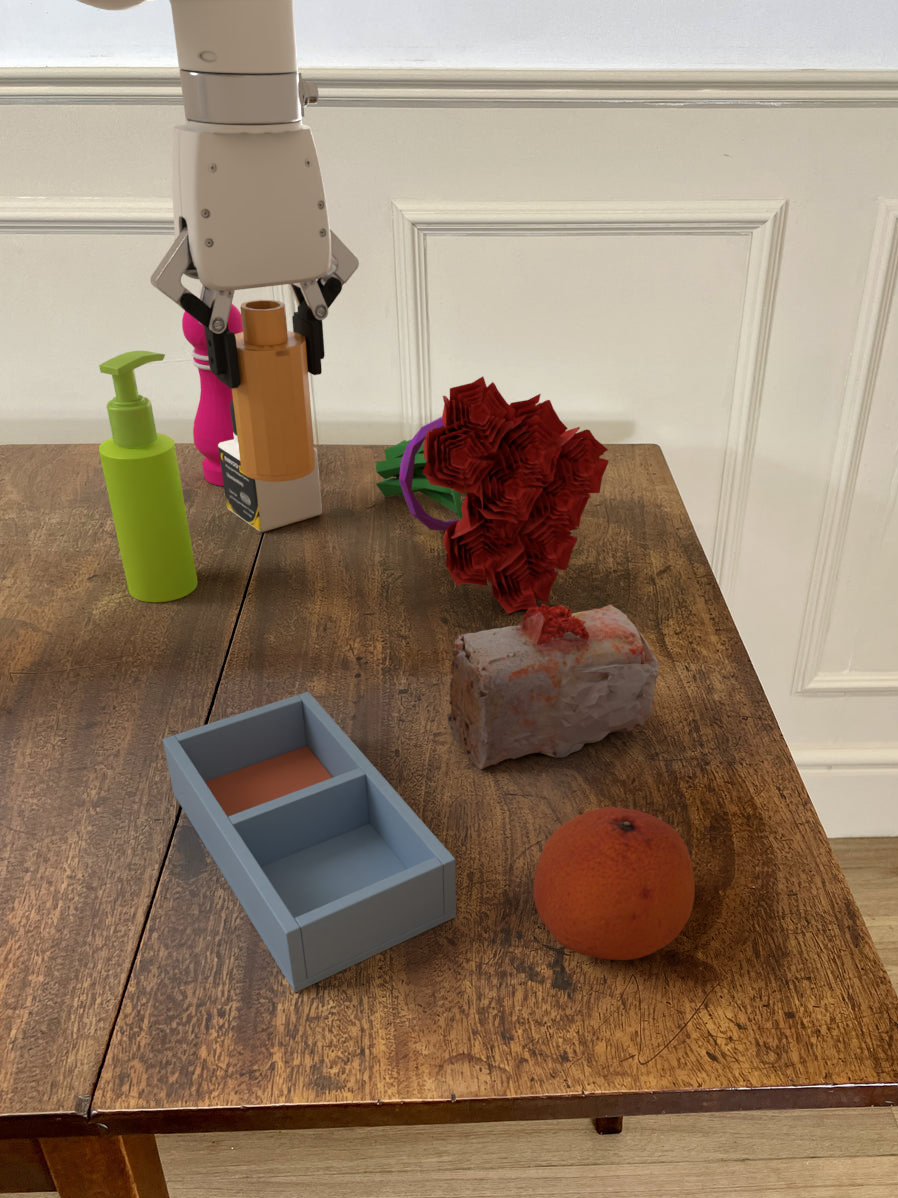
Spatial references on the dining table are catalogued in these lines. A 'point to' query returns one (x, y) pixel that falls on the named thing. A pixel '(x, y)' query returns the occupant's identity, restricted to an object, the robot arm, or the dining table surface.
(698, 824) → the dining table surface
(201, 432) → the pepper mill
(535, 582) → the bouquet
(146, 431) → the soap dispenser
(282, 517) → the medicine bottle
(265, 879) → the tray
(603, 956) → the fruit
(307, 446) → the bottle
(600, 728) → the food item
